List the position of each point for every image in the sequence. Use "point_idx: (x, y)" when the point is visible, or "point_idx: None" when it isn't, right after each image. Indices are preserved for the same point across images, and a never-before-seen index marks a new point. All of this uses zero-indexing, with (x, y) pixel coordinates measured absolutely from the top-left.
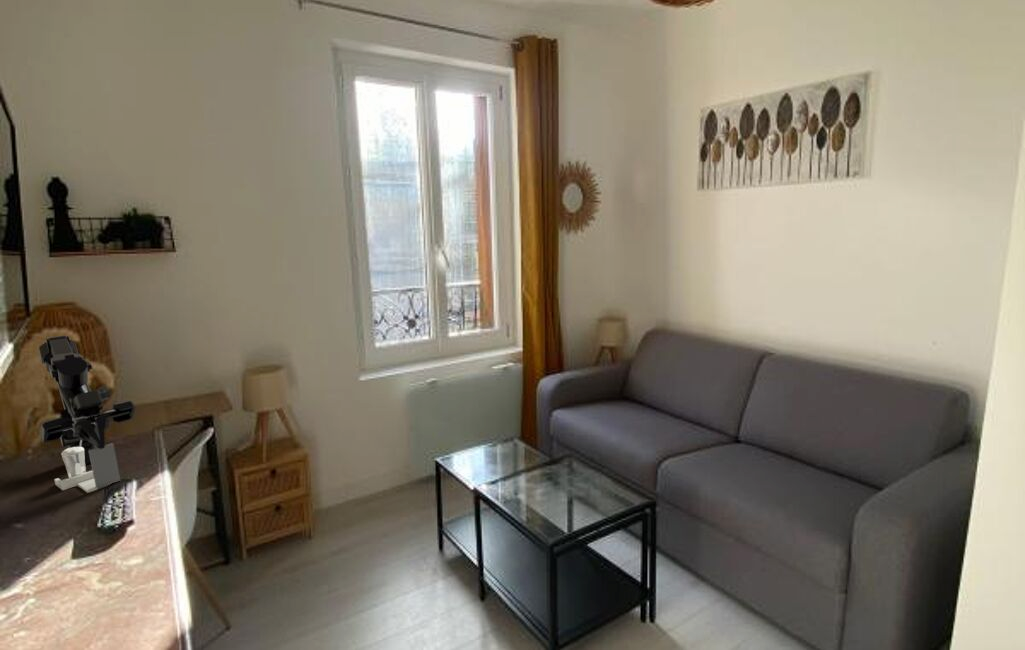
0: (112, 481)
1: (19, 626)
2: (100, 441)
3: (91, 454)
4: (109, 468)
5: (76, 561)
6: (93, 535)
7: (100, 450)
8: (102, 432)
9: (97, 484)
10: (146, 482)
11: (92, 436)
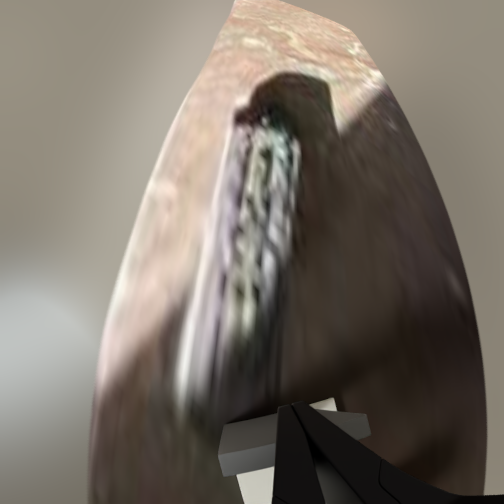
0: (251, 420)
1: (349, 35)
2: (307, 428)
3: (348, 415)
4: (257, 425)
5: (320, 75)
6: (305, 118)
7: None
8: (291, 495)
9: None
10: (152, 338)
11: (375, 457)
